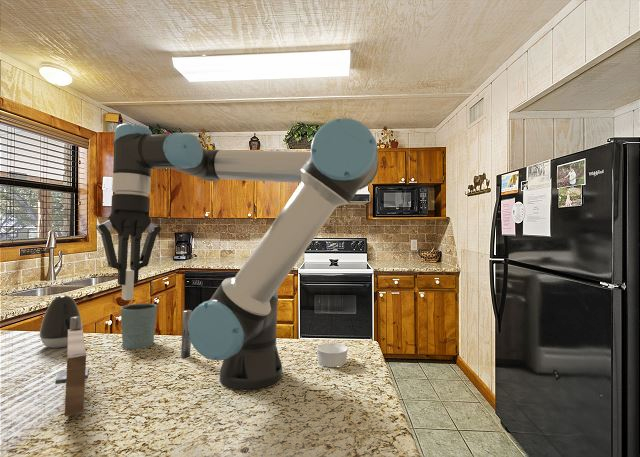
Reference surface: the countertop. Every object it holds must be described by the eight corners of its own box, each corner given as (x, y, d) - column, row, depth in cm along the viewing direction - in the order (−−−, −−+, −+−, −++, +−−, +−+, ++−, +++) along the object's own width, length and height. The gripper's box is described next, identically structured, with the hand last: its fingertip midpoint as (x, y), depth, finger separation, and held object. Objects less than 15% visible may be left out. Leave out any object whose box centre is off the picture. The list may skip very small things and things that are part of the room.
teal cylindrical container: (136, 351, 96) (138, 310, 96) (110, 347, 99) (112, 307, 99) (163, 341, 106) (164, 304, 106) (138, 337, 109) (140, 301, 109)
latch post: (191, 357, 93) (192, 311, 93) (182, 358, 92) (183, 312, 92) (189, 354, 95) (191, 309, 95) (180, 356, 94) (182, 310, 94)
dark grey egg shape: (74, 338, 107) (76, 291, 107) (86, 344, 101) (89, 295, 101) (34, 345, 99) (36, 295, 99) (44, 353, 93) (47, 299, 93)
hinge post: (87, 377, 78) (90, 318, 79) (55, 383, 75) (58, 321, 75) (88, 368, 83) (91, 313, 84) (58, 373, 80) (61, 316, 80)
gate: (65, 374, 77) (67, 329, 77) (80, 372, 79) (82, 327, 79) (64, 416, 60) (67, 358, 60) (83, 412, 61) (86, 355, 62)
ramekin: (310, 360, 93) (311, 345, 94) (336, 355, 98) (337, 340, 98) (326, 371, 86) (326, 355, 86) (353, 366, 90) (354, 350, 90)
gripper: (154, 198, 81) (151, 293, 81) (92, 192, 72) (88, 300, 71) (167, 196, 76) (163, 297, 76) (103, 189, 67) (98, 305, 66)
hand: (127, 299), depth 73 cm, fingers closed
